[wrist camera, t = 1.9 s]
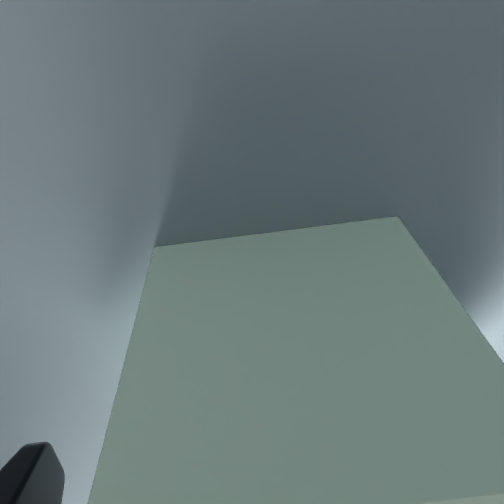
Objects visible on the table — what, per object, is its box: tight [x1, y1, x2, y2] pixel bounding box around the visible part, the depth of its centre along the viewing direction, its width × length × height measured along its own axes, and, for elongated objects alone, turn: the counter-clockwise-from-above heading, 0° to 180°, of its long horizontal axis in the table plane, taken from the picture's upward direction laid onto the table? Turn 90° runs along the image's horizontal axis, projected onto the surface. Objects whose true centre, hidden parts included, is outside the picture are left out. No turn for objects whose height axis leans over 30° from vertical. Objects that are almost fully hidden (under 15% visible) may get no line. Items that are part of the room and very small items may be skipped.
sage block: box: [87, 216, 504, 504], centre depth 9 cm, size 5×5×6 cm
